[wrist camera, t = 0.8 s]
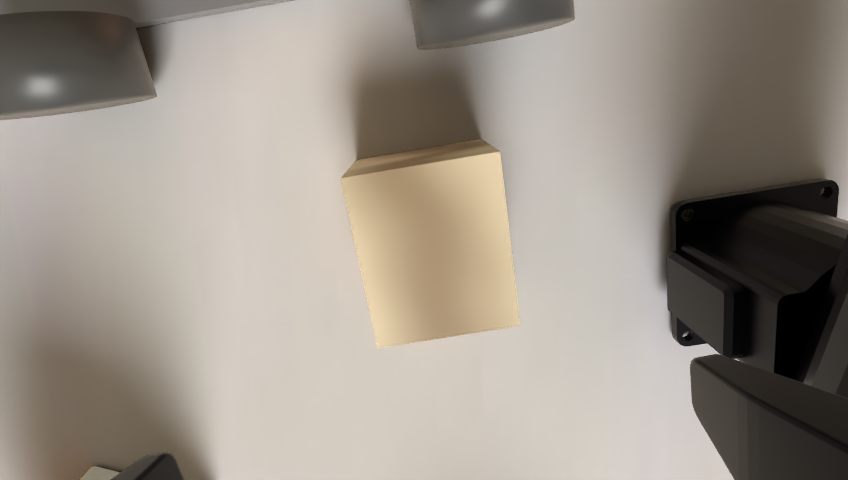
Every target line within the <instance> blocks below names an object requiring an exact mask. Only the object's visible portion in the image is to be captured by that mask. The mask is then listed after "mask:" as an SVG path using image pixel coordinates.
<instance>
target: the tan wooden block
mask: <svg viewBox="0 0 848 480" xmlns="http://www.w3.org/2000/svg"><path fill="white" fill-rule="evenodd" d="M341 183H342V187H343V192H344V197H345V201H346V206H347V210H348V215H349V220H350V224H351V229H352V234H353V238H354V243H355V247H356V252H357V257H358V261H359V266H360V271H361V275H362V280H363V284H364V289H365V294H366V298H367V303H368V308H369V312H370V317H371V321H372V326H373V331H374V335H375V340H376V345H377V348H381V347H388V346H394V345H400V344H407V343H413V342H419V341H426V340H432V339H439V338H445V337H451V336H458V335H464V334H470V333H477V332H483V331H490V330H496V329H502V328H509V327H515V326H520V317H519V308H518V300H517V291H516V283H515V274H514V266H513V257H512V249H511V240H510V232H509V223H508V215H507V206H506V198H505V189H504V181H503V172H502V164H501V155H500V151H499V150H497V149H496V148H494V147H493V146H491V145H490V144H488V143H487V142H485V141H484V140H482V139H478V140H472V141H466V142H460V143H454V144H448V145H442V146H437V147H431V148H425V149H419V150H413V151H407V152H401V153H395V154H389V155H383V156H377V157H371V158H365V159H359V160H356V161H355V162H354V164H353V165H352V166H351V167H350V168H349V169H348V170H347V172H346V173H345V174H344V175H343V176H342V177H341Z"/></svg>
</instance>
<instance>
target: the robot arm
mask: <svg viewBox="0 0 848 480" xmlns="http://www.w3.org/2000/svg"><path fill="white" fill-rule="evenodd" d="M823 188H824V189H825V190H824V193H823V194H822V195H821V196H820V191H821V190H822V189H823ZM838 195H839V188H838V185H837V183H836V182H834V181H832V180H827V179H814V180H808V181H801V182H795V183H789V184H783V185H777V186H770V187H764V188H758V189H752V190H746V191H739V192H733V193H727V194H721V195H715V196H708V197H702V198H696V199H690V200H684V201H680V202H678V203H676V204H675V205H674V206H673V208H672V209H671V214H670V221H671V252H670V253H669V255H668V257H667V298H668V310H669V311H670V312H671V313H672V335H673V338H674V339H675V340H676V341H677V342H678V343H679V344H680V345H683V346H693V345H699V344H706V343H708V344H709V345H710V346H711V347H713V348H714V349H715V350H716V351H717V352H718V353H720V354H721V355H719V354H714V355H708V356H703V357H697V358H694V359H693V360H692V361H691V364H690V375H691V393H692V404H693V408H694V411H695V413H696V415H697V417H698V419H699V421H700V422H701V424H702V426H703V427H704V429H705V431H706V432H707V434H708V436H709V437H710V439H711V441H712V442H713V444H714V446H715V448H716V449H717V451H718V453H719V454H720V456H721V458H722V459H723V461H724V463H725V464H726V466H727V468H728V469H729V471H730V473H731V475H732V476H733V478H734V480H848V221H846V220H842V219H839V218H836V217H837V206H838ZM686 209H688V210H689V213H688V215H687V216H686V217H685V218H683V219H682V212H683V211H684V210H686ZM686 331H689V334H688V335H687V336H685V337H682V336H683V334H684V333H685V332H686ZM734 359H738V360H739V361H737V360H734ZM110 480H184V478H183V475H182V473H181V471H180V468H179V466H178V464H177V462H176V459H175V457H174V456H173V455H172V454H171V453H168V452H163V453H158V454H152V455H147V456H144V457H143V458H141V459H140V460H138V461H137V462H135V463H134V464H132V465H131V466H129V467H128V468H126V469H125V470H124V471H122V472H121V473H119V474H118V475H116V476H115V477H113V478H112V479H110Z"/></svg>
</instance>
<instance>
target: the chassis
mask: <svg viewBox="0 0 848 480" xmlns="http://www.w3.org/2000/svg"><path fill="white" fill-rule="evenodd" d="M286 1H292V0H0V120H6V119H19V118H29V117H39V116H48V115H56V114H64V113H72V112H80V111H87V110H94V109H100V108H107V107H113V106H119V105H124V104H130V103H135V102H140V101H144V100H148V99H152V98H155V97H157V94H156V91H155V88H154V85H153V81H152V78H151V75H150V72H149V68H148V65H147V62H146V59H145V56H144V52H143V49H142V46H141V43H140V40H139V36H138V33H137V30H136V28H140V27H146V26H151V25H157V24H162V23H168V22H174V21H179V20H185V19H191V18H196V17H202V16H208V15H213V14H219V13H224V12H230V11H236V10H241V9H247V8H253V7H258V6H264V5H270V4H275V3H281V2H286ZM410 5H411V11H412V18H413V24H414V31H415V37H416V44H417V48H418V49H426V50H427V49H441V48H450V47H458V46H465V45H471V44H477V43H483V42H489V41H494V40H500V39H505V38H510V37H515V36H519V35H524V34H528V33H533V32H537V31H541V30H545V29H549V28H552V27H556V26H559V25H562V24H565V23H568V22H570V21H572V20H574V19H575V17H574V2H573V0H410Z"/></svg>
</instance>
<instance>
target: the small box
mask: <svg viewBox="0 0 848 480" xmlns="http://www.w3.org/2000/svg"><path fill="white" fill-rule="evenodd" d="M119 473H121V472H117V471H113V470H109V469H105V468H101V467H97V466H92V467H90V468H89V469H88V471H87V472H86V473H85V474H84V475H83V476H82V477H81V479H80V480H110V479H112V478H113V477H115V476H116V475H118V474H119Z"/></svg>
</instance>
